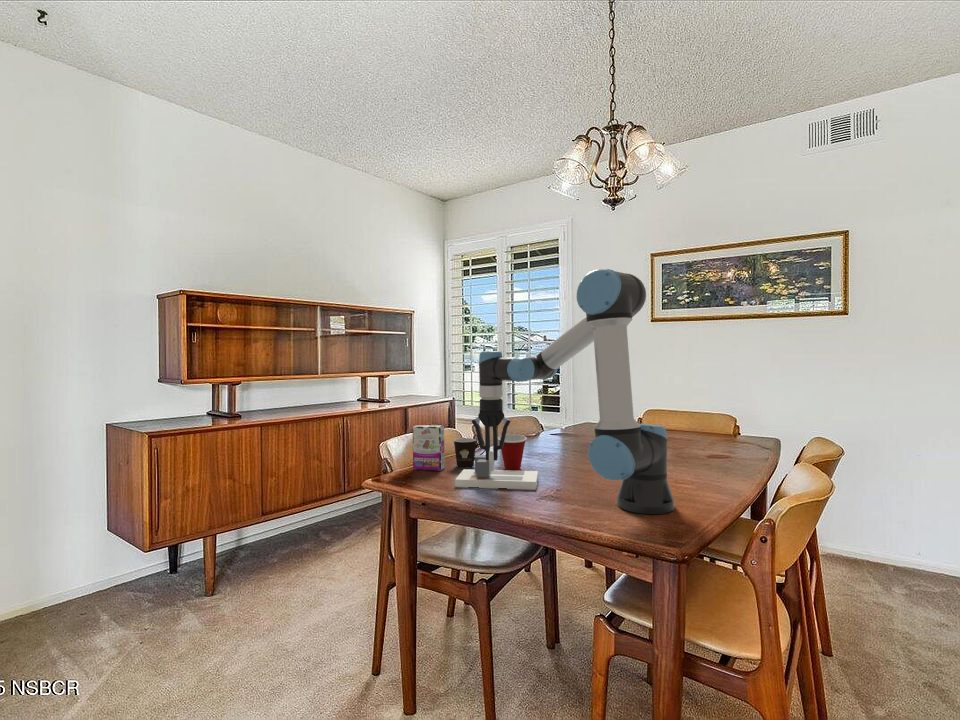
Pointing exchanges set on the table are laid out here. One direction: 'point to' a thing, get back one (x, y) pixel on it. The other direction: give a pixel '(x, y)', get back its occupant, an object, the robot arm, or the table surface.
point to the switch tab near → (483, 468)
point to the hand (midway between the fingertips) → (491, 470)
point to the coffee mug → (465, 451)
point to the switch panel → (498, 479)
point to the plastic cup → (513, 451)
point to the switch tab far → (477, 460)
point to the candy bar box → (428, 447)
